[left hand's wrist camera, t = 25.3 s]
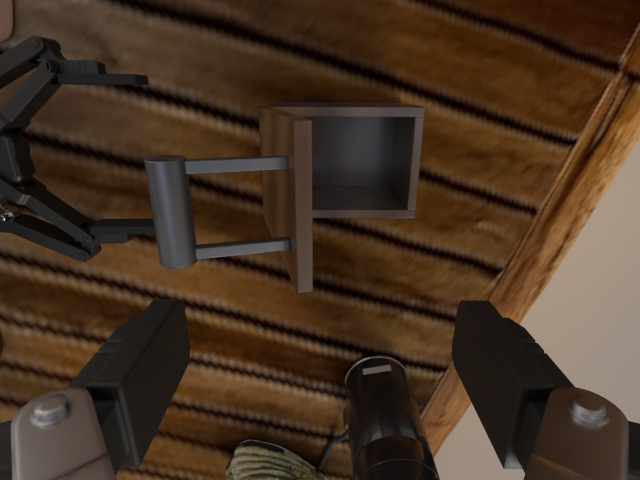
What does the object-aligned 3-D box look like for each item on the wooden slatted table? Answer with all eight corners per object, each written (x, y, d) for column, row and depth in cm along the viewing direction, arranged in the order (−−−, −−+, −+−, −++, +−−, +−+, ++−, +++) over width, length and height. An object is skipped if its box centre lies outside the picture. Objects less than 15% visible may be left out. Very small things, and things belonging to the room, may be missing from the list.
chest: (401, 102, 44) (425, 107, 34) (395, 190, 48) (414, 218, 38) (277, 102, 44) (264, 106, 34) (280, 190, 48) (269, 218, 38)
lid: (312, 119, 20) (130, 123, 18) (313, 292, 24) (162, 312, 22) (269, 107, 34) (161, 108, 31) (274, 219, 37) (178, 227, 35)
